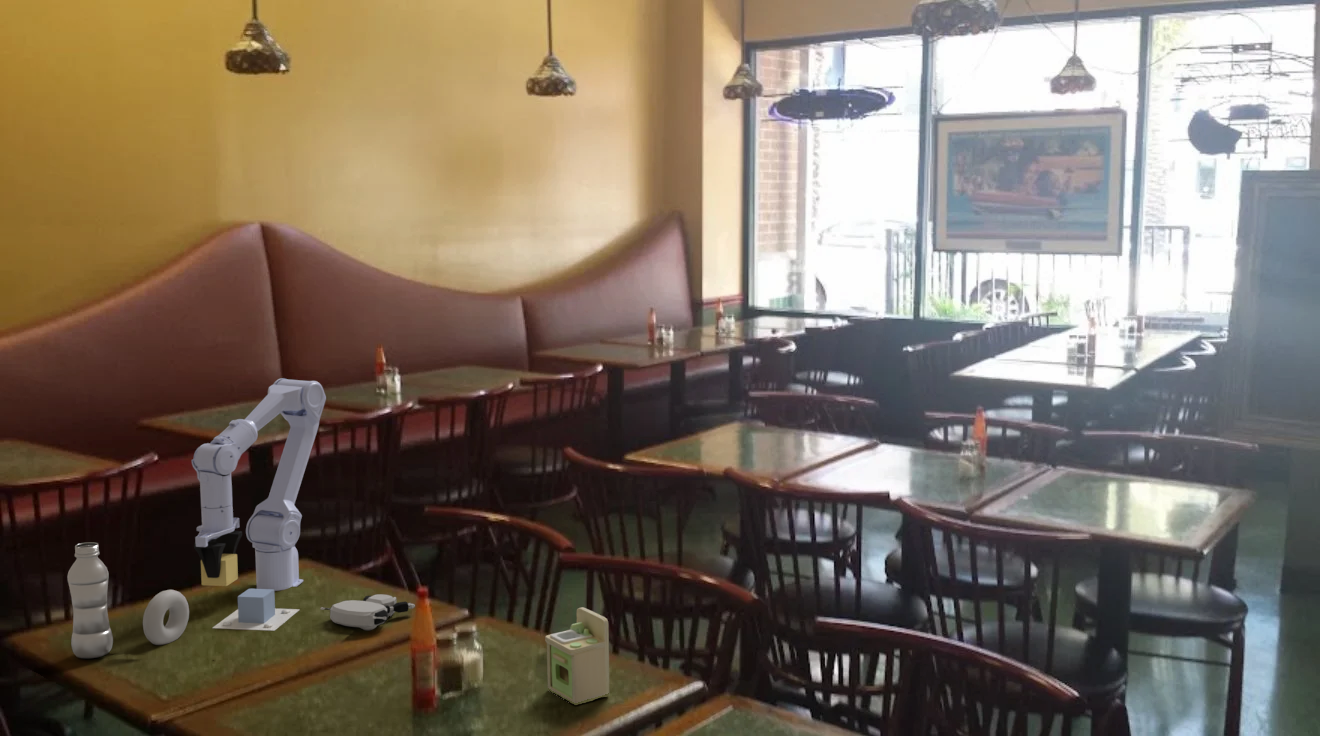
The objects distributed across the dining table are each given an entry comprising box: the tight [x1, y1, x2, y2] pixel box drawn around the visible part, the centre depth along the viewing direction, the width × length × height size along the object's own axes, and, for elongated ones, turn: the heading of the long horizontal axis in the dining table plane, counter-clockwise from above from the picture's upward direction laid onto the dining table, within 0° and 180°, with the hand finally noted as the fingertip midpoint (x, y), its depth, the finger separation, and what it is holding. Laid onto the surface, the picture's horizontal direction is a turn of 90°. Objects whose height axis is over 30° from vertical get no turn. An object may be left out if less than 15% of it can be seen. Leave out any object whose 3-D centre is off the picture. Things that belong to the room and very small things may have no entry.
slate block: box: [237, 588, 276, 623], centre depth 225 cm, size 5×5×5 cm
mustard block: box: [200, 553, 239, 587], centre depth 232 cm, size 5×5×5 cm
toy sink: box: [544, 606, 610, 703], centre depth 192 cm, size 8×7×13 cm
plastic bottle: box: [67, 542, 114, 659], centre depth 207 cm, size 6×7×20 cm
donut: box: [142, 589, 190, 646], centre depth 213 cm, size 10×3×10 cm, turn 161°
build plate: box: [212, 607, 300, 632], centre depth 226 cm, size 12×12×1 cm
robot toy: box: [320, 593, 416, 631], centre depth 227 cm, size 12×4×15 cm
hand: (220, 572), depth 232 cm, fingers closed on mustard block, 5 cm apart
